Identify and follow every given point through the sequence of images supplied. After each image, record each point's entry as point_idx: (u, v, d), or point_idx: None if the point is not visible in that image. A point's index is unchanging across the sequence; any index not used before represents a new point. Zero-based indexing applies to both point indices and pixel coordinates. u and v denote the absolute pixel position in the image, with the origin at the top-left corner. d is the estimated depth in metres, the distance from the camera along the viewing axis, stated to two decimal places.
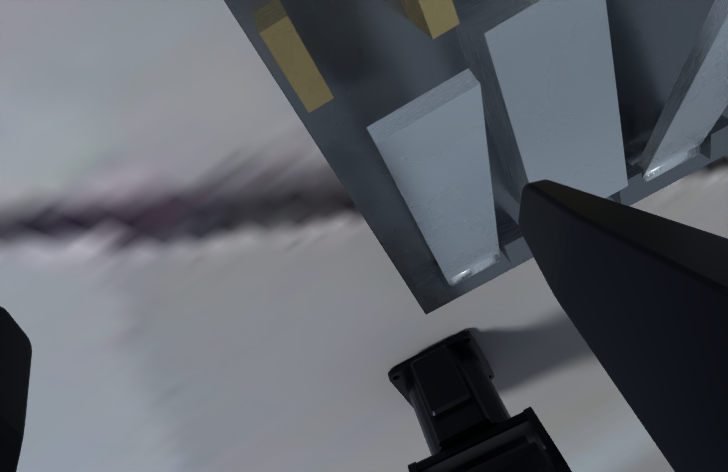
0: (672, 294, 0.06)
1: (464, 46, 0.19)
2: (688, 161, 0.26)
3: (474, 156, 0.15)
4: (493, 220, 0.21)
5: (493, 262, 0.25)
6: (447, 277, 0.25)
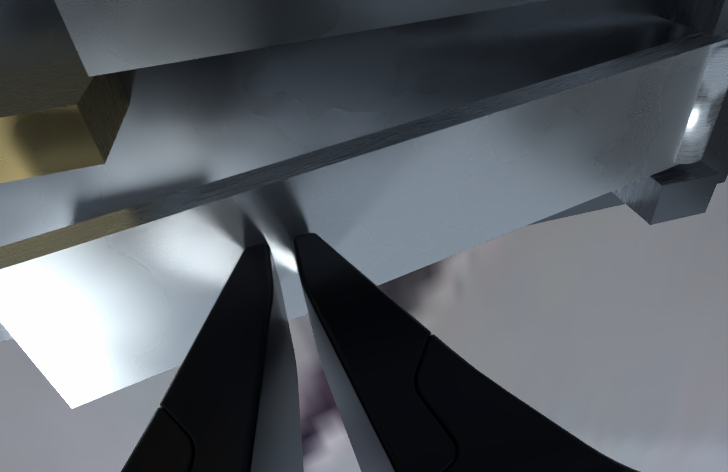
0: (345, 384, 0.06)
1: None
2: None
3: (223, 225, 0.08)
4: (534, 105, 0.09)
5: (727, 64, 0.11)
6: (660, 169, 0.12)
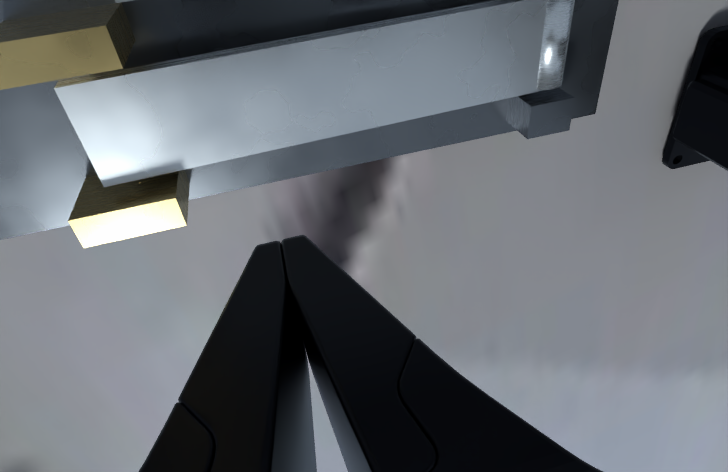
0: (330, 388, 0.06)
1: None
2: None
3: (191, 80, 0.13)
4: (399, 28, 0.14)
5: (559, 12, 0.15)
6: (523, 92, 0.16)
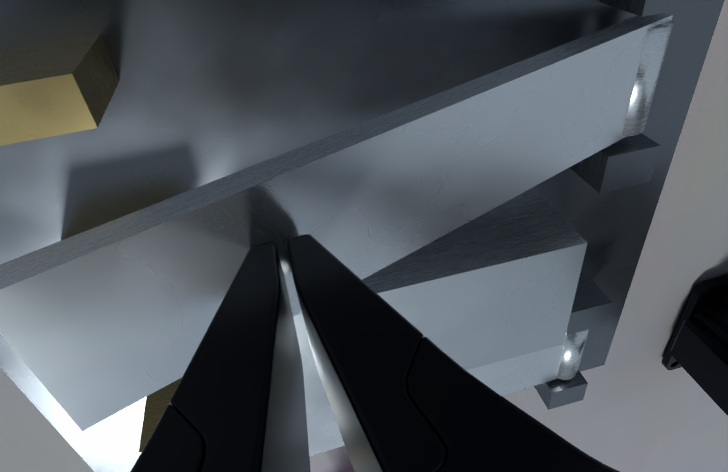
0: (337, 386, 0.06)
1: None
2: None
3: None
4: None
5: (576, 341, 0.19)
6: (545, 380, 0.20)
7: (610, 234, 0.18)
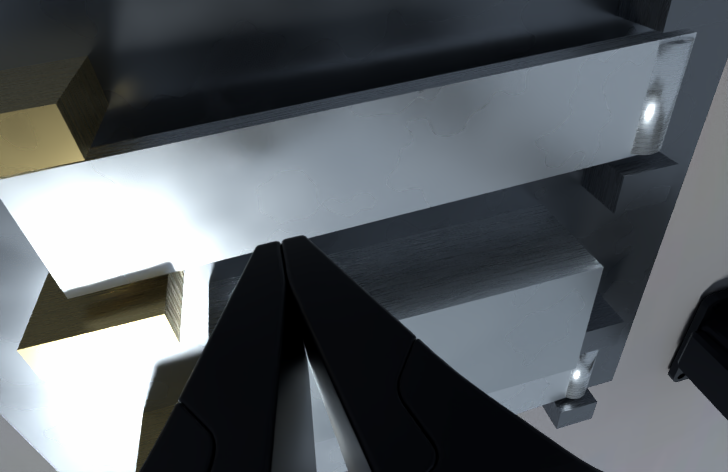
0: (330, 388, 0.06)
1: None
2: None
3: None
4: None
5: (586, 360, 0.18)
6: (554, 400, 0.20)
7: (621, 250, 0.17)
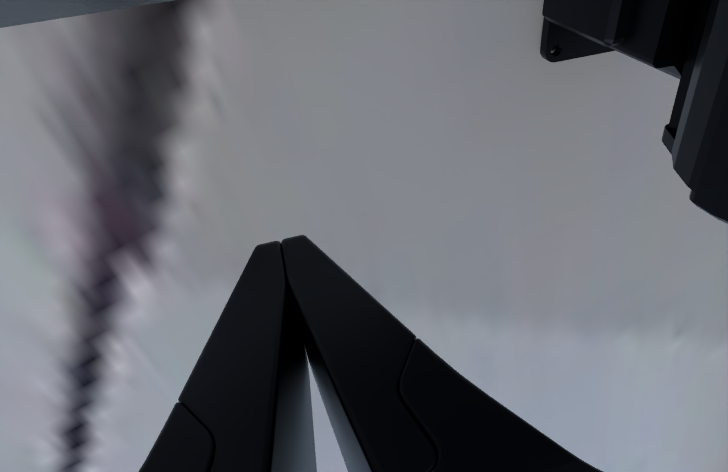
0: (330, 388, 0.06)
1: None
2: None
3: None
4: None
5: None
6: None
7: None
